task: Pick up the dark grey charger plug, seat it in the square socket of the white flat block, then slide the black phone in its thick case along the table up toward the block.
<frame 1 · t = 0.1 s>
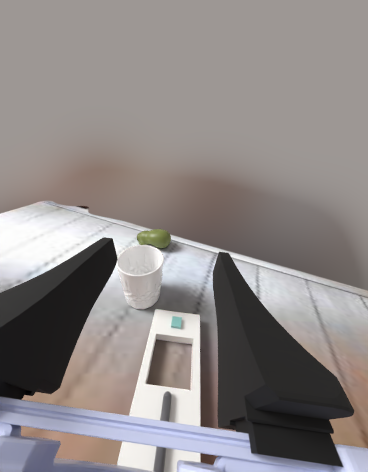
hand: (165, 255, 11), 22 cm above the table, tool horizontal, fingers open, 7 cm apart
white flat block: (169, 381, 22), on the table
pear: (153, 245, 48), on the table
white cup: (143, 295, 33), on the table
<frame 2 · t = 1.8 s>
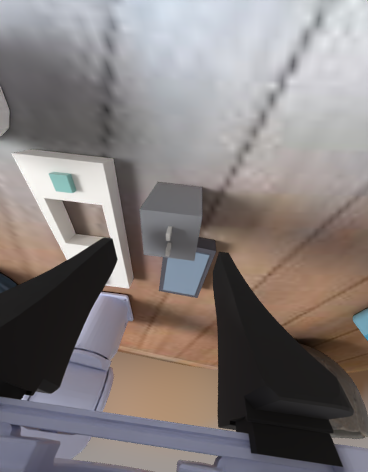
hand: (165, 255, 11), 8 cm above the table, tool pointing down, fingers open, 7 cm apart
phone: (185, 260, 23), on the table
white flat block: (95, 230, 21), on the table
bowl: (284, 346, 37), on the table
plug: (178, 204, 17), on the table
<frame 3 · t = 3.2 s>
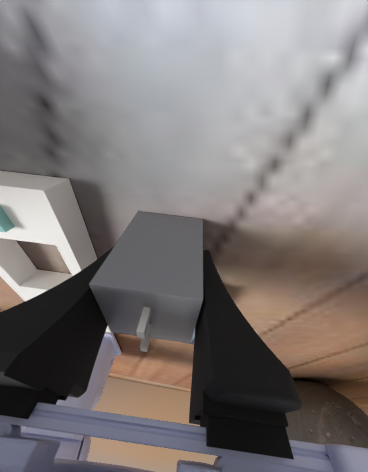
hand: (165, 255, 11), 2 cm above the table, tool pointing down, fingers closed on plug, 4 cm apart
white flat block: (61, 266, 15), on the table
bowl: (297, 382, 32), on the table
plug: (169, 240, 12), on the table, touching gripper
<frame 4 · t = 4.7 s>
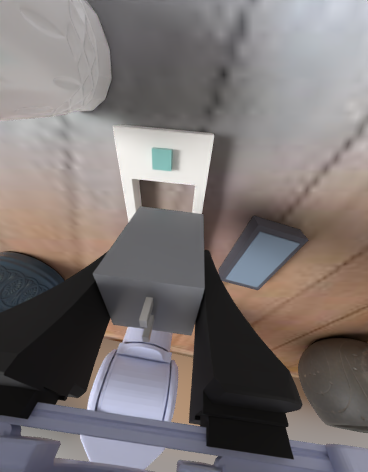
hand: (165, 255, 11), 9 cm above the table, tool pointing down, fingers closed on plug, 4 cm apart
phone: (253, 250, 22), on the table
white flat block: (166, 217, 19), on the table
bowl: (331, 342, 36), on the table
canister: (33, 274, 30), on the table
plug: (170, 235, 12), point 7 cm above the table, touching gripper
white cup: (69, 54, 12), on the table
when the fingers open (3 cm above the table, at t = 6.4 s): plug drops 1 cm, resting in white flat block.
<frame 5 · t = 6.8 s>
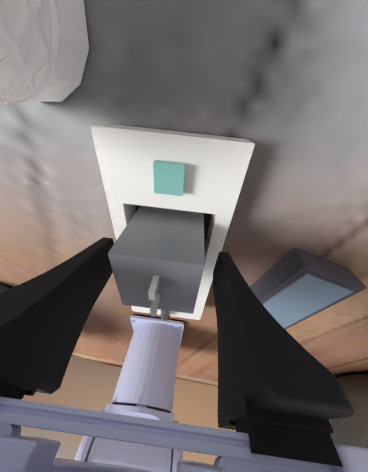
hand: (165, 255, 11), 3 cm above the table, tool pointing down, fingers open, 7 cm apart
phone: (279, 285, 17), on the table
white flat block: (171, 247, 15), on the table
bowl: (355, 376, 31), on the table
plug: (172, 226, 13), resting in white flat block
white cup: (17, 6, 7), on the table
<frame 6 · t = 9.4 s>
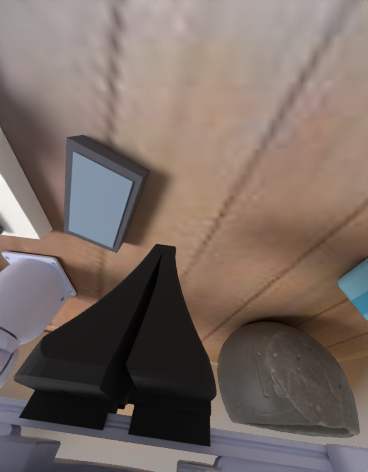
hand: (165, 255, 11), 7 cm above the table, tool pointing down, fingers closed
phone: (109, 198, 17), on the table
bowl: (261, 328, 31), on the table
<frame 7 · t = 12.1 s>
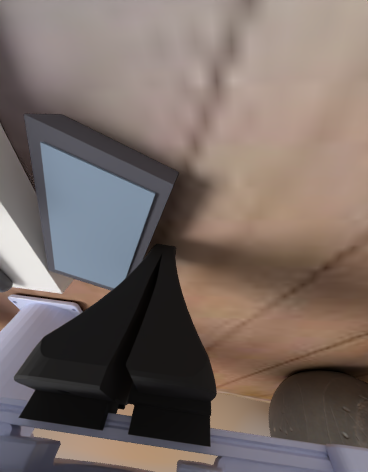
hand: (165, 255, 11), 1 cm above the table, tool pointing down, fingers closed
phone: (113, 217, 11), on the table
bowl: (315, 373, 26), on the table
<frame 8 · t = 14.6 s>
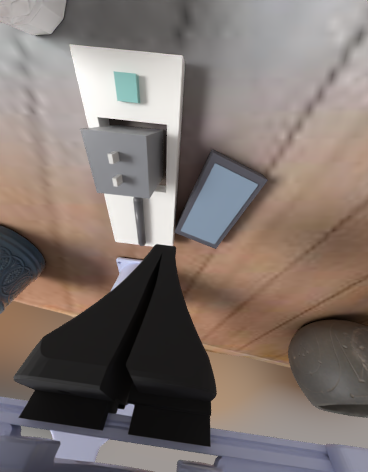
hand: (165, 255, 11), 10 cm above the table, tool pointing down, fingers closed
phone: (213, 200, 20), on the table
white flat block: (143, 174, 18), on the table
bowl: (322, 325, 34), on the table
canister: (10, 248, 28), on the table
plug: (142, 152, 17), resting in white flat block
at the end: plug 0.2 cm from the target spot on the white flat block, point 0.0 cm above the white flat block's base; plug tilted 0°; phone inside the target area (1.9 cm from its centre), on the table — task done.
